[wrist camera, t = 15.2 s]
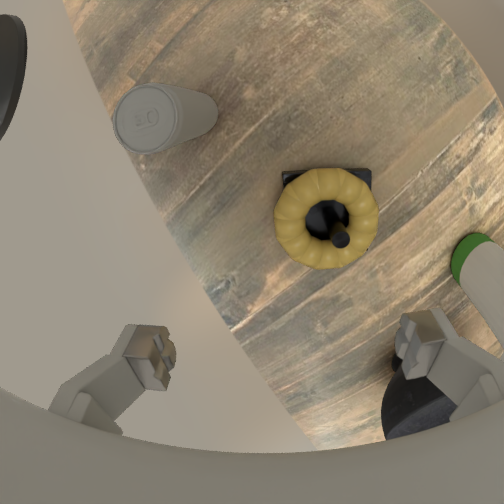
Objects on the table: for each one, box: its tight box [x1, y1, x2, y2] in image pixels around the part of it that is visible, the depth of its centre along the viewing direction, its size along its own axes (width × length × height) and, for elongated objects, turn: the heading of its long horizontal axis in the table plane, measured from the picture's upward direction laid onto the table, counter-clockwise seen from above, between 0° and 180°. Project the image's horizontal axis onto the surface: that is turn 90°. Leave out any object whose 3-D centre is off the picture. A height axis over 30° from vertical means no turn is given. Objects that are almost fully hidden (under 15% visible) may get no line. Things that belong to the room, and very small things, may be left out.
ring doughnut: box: [274, 168, 379, 270], centre depth 27 cm, size 10×10×3 cm
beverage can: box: [113, 82, 218, 154], centre depth 20 cm, size 5×5×12 cm
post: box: [282, 168, 371, 251], centre depth 26 cm, size 9×9×7 cm
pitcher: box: [381, 353, 458, 440], centre depth 25 cm, size 17×21×30 cm
